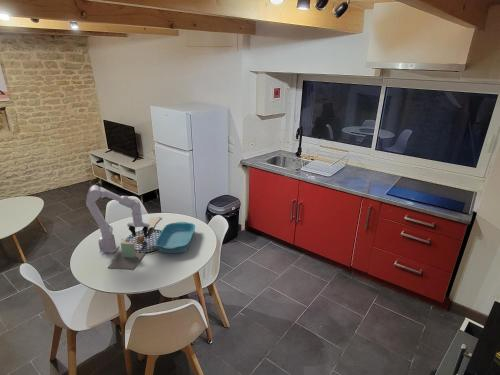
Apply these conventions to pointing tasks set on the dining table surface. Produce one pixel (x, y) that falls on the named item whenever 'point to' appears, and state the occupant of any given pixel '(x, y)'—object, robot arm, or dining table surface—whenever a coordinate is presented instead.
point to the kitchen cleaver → (152, 224)
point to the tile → (128, 249)
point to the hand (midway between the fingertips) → (140, 236)
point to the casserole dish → (175, 237)
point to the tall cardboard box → (140, 239)
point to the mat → (126, 262)
